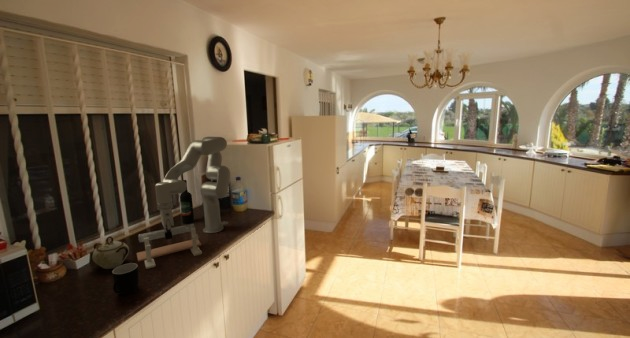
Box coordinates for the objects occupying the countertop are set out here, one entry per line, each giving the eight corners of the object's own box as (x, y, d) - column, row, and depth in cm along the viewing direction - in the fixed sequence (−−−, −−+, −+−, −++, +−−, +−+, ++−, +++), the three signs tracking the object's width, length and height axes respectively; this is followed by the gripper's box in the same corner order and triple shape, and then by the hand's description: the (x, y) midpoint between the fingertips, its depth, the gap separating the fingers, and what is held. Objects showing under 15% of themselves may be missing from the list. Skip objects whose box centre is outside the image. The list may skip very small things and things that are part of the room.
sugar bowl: (141, 259, 149) (138, 231, 147) (116, 274, 135) (112, 244, 132) (110, 256, 153) (106, 229, 151) (82, 270, 139) (77, 241, 136)
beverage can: (202, 217, 211) (201, 202, 209) (204, 214, 217) (202, 199, 215) (212, 217, 212) (211, 201, 210) (214, 214, 219) (212, 198, 217)
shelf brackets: (198, 248, 161) (196, 226, 158) (202, 253, 154) (200, 230, 152) (144, 262, 146) (141, 238, 144) (146, 269, 139) (143, 243, 137)
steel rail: (193, 228, 167) (192, 223, 166) (194, 230, 164) (194, 225, 164) (138, 240, 152) (138, 234, 151) (139, 242, 149) (138, 236, 148)
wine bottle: (196, 221, 204) (192, 179, 199) (187, 224, 197) (183, 181, 192) (188, 219, 207) (184, 178, 202) (179, 223, 200) (175, 181, 195)
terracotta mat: (197, 239, 173) (197, 238, 172) (201, 245, 164) (201, 244, 164) (136, 254, 155) (136, 253, 155) (138, 261, 147) (138, 260, 147)
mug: (124, 284, 127) (121, 263, 125) (145, 284, 127) (142, 262, 125) (105, 301, 115) (101, 278, 113) (127, 301, 115) (124, 278, 113)
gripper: (175, 207, 151) (178, 240, 154) (170, 200, 164) (173, 231, 167) (159, 210, 146) (163, 244, 149) (155, 203, 160) (158, 234, 163)
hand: (168, 237), depth 158 cm, fingers closed on steel rail, 3 cm apart
